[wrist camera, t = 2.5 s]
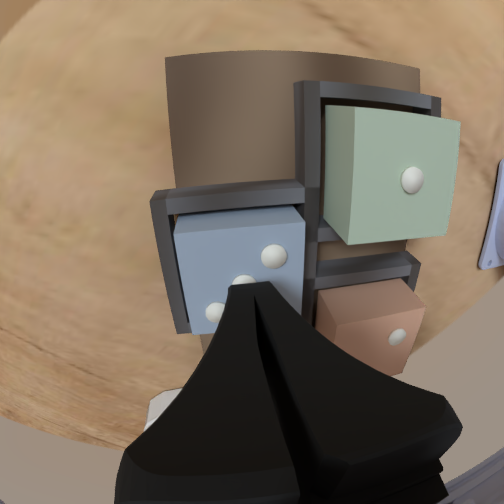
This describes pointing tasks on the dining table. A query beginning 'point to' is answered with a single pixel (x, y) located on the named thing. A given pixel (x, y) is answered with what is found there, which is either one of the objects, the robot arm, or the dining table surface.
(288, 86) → the board
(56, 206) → the dining table surface
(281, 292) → the tile three
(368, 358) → the tile two
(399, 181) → the tile one
